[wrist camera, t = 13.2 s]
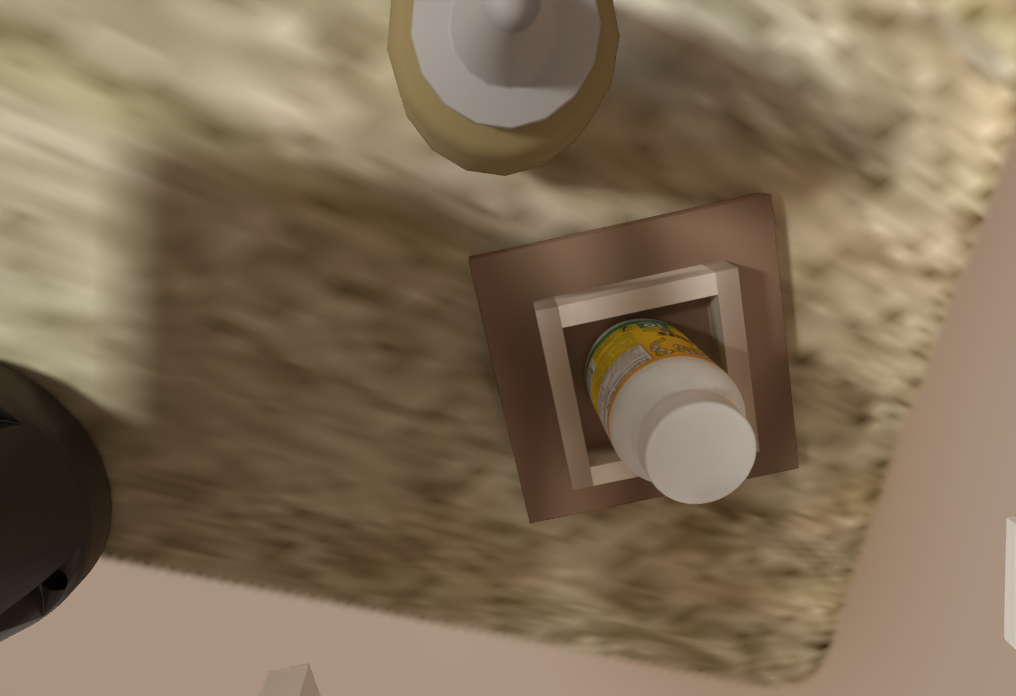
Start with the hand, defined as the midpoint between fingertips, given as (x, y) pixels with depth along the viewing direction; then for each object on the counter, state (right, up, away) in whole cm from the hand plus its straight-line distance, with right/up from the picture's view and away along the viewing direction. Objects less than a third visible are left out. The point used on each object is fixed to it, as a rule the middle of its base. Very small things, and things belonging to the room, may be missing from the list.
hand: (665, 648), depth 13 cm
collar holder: (+3, +5, +22) cm, 22 cm away
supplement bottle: (+3, +5, +21) cm, 22 cm away
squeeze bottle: (-3, +18, +18) cm, 25 cm away
